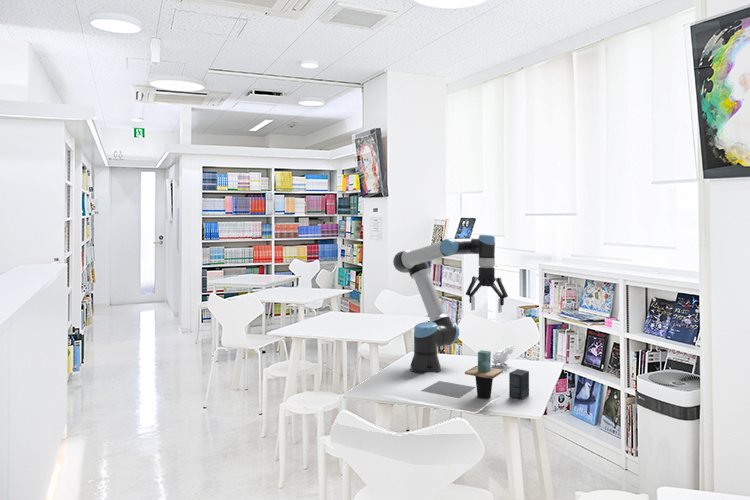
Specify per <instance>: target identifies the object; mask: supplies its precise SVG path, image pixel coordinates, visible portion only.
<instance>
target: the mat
mask: <svg viewBox="0 0 750 500" xmlns="http://www.w3.org/2000/svg"><path fill="white" fill-rule="evenodd" d="M474 389H477V387H476V386H472V385H466V384H459V383H455V382H453V383H452V382H447V381H442V380H438V381H436V382H435V383H434V382H433V384H431V385H429V386H427V387H426V388H423V389H420V391H421V392H424V393H430V394H434V395H435V394H436V395H441V396H446V397H452V398H457V399H460V398H462V397H463V396H465V395H466V394H468V393H470V392H471V391H473V390H474Z"/></svg>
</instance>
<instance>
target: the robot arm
mask: <svg viewBox="0 0 750 500" xmlns="http://www.w3.org/2000/svg"><path fill="white" fill-rule="evenodd" d="M495 237H496V236H495V235H494V234H479V235H478V238H468V237H467V238H451V237H450V238H445V239H443V240H442V241H441V242H437V243H434V244H430V245H427V246H423V247H420V248H417V249H414V250H408V249H407V250H404V251H403V250H402V251H399V252H397V253H396V254H395V255H394V256H393V257H394V258H393V260H392V262H393V266H394V268H395V270H396V271H398V272H400V273H404V274H405V273H406V274H407V273H408V274H409V276H410V279H413V280H414V281H415V284H416V286H417V287H416V288H417V290H418V292H419V295H420V297H421V301H422V302H423V303H422V304H423V305H424V308H425V310H426V313H427V316H428V319H429V321H426V322H424V321H423V322H420V323H418V324H416V325H414V330H413V356H412V358H411V359H412V360H411V362H410V371H412V372H414V373H417V374H425V373H439V372H441V362H440V360H439V357H438V348H441V347H446V346H451V345H453V344H455V343H456V342H457V341H458V339H459V337H460V328H459V326H458V324H457V323H455V322H454V321H452V320H451V317H450V316H449V315H446V313H445V310H444V307H443V306H442V303H441V299H440V297H439V294H438V292H437V289H436V287H435V285H434V282H433V279H432V277H431V272H432V270H431V268H432V263H433V261H436V260H439V259H443V258H447V257H451V256H454V255H478V266H479V267H478V276H476V275H475V276H472V277H471V282H470V284H469V286H468V288H467V290H466V293H465V296H469V299H468V300H469V304H470V307H471V308H470V311H474V310H475V309H476V296H475V294H476V293H477V292H478V291H479V290H480V289H481V287H489V288H491V289H492V290H493V291H494V292H495V293H496V295H497V296H498V304H497V305H498V306H497V308H498V310H497V311H498V312H497V313H502V312H503V306H504V305H505V300H504V299H506V298H508V297H509V296H508V293H507V291H506V288H505V286H504V285H503V282H502V277H495V276H496V275H495V271H496V269H495V265H496V262H495V261H496V259H495V256H496V255H495V254H496V253H495V251H496V250H495V249H496V248H495V247H496V241H495V239H496V238H495ZM477 281H478V283H477V285H476V286H475V284H476V282H477ZM495 282H496V283H497V285H498V287H497V285H496V284H495Z"/></svg>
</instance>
